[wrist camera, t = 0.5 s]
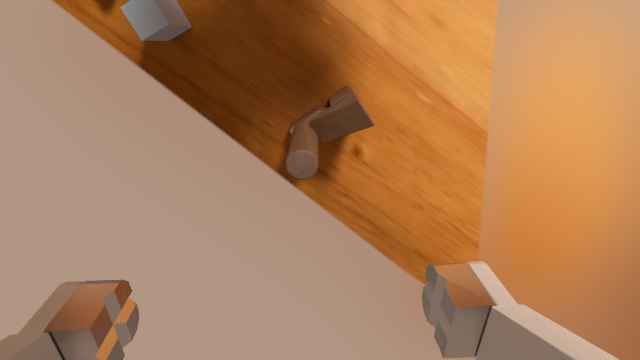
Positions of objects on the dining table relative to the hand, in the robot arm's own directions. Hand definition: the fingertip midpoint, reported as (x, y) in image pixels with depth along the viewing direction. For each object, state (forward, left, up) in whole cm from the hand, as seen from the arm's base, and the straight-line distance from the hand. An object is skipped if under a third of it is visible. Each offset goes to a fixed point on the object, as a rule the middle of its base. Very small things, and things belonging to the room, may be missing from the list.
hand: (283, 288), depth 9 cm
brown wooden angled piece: (+4, +2, -45) cm, 45 cm away
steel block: (-8, -19, -45) cm, 49 cm away
